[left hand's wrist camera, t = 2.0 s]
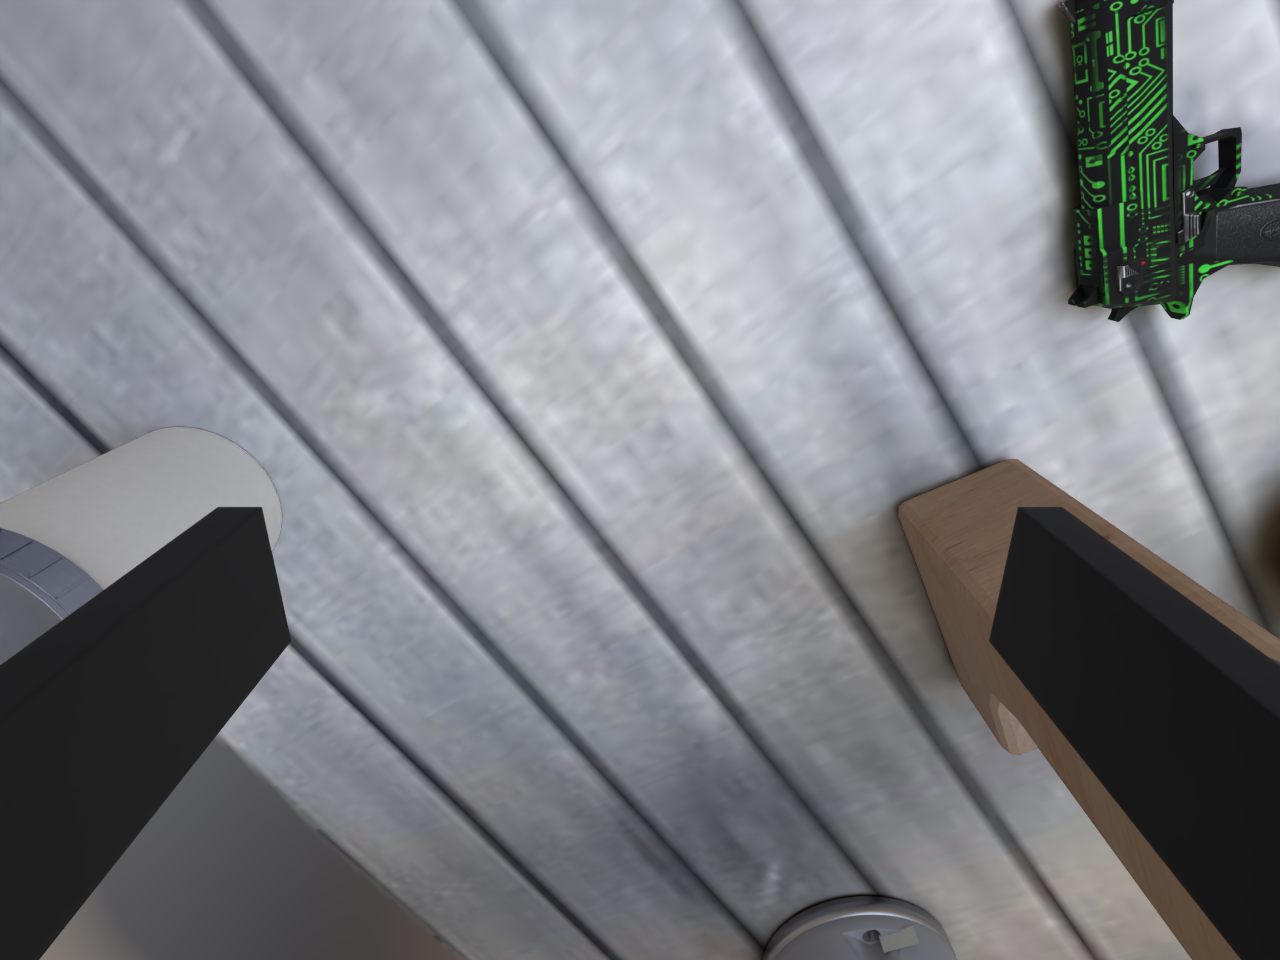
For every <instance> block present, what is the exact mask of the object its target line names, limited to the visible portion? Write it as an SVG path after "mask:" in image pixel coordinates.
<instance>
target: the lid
mask: <svg viewBox="0 0 1280 960" xmlns="http://www.w3.org/2000/svg"><path fill="white" fill-rule="evenodd" d="M102 591H103V589H102V587H101V586H100V585H99V584H98V583H97V582H96V581H95V580H94V579H92V578H91V577H90V576H89V575H88V574H87V573H86V572H85V571H84V570H82V569H81V568H80V567H78V566H77V565H76V564H75V563H73V562H72V561H71V560H69V559H68V558H66V557H65V556H63V555H61V554H60V553H58V552H57V551H55V550H54V549H52V548H50V547H48V546H46V545H44V544H42V543H40V542H38V541H36V540H34V539H31V538H29V537H26V536H24V535H21V534H19V533H16V532H13V531H9V530H6V529H3V528H0V665H1V664H3V663H4V662H5V661H7V660H8V659H9V658H11V657H12V656H14V655H15V654H16V653H18V652H19V651H20V650H22V649H23V648H25V647H26V646H27V645H29V644H30V643H31V642H33V641H34V640H36V639H37V638H38V637H40V636H41V635H42V634H44V633H45V632H47V631H48V630H49V629H51V628H52V627H53V626H55V625H56V624H58V623H59V622H60V621H62V620H63V619H64V618H66V617H67V616H69V615H70V614H71V613H73V612H74V611H75V610H77V609H78V608H80V607H81V606H82V605H84V604H85V603H86V602H88V601H89V600H91V599H92V598H93V597H95V596H96V595H97V594H99V593H100V592H102Z"/></svg>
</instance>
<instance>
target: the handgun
mask: <svg viewBox="0 0 1280 960" xmlns="http://www.w3.org/2000/svg"><path fill="white" fill-rule="evenodd" d="M1173 3H1174V0H1068V1H1066V2H1064V3H1062V4H1060V5H1059V7H1060V8H1061V9H1062V11H1063V12H1064V13H1065V15H1066V16H1067V18H1068V19H1069V20H1070V30H1071V43H1072V54H1073V73H1074V92H1075V112H1076V131H1077V149H1078V164H1079V179H1080V194H1081V207H1078V208H1075V209H1073V211H1074V224H1075V237H1076V248H1075V250H1074V259H1075V273H1076V288H1077V289H1076V290H1075V292H1074V293H1073V294H1072V296H1071V297H1070V298H1069V300H1068V304H1070V305H1075V306H1076V305H1077V306H1078V307H1083V308H1085V307H1089V306H1092V305H1095V306H1100V307H1104V308H1109V309H1111V308H1112V312H1111V314H1110V316H1109V318H1108V319H1109V320H1113V321H1117V322H1119V321H1120V320H1121V319H1122V318H1123V317H1124V316H1125V315H1126V314H1127V313H1128V312H1130V311H1131V310H1133V309H1135V308H1136V307H1138V306H1145V305H1155V304H1161V305H1162V307H1163V308H1164V310H1165V311H1166V312H1167V313H1168V315H1169V316H1170V317H1171V318H1175V319H1179V320H1180V319H1184V318H1185V317H1187V316H1188V315H1190V310H1191V306H1192V301H1193V297H1194V295H1195V293H1196V291H1197V290H1198V288H1199V286H1200V284H1201V282H1202V280H1203V279H1204V278H1206V277H1207V276H1209V275H1211V274H1213V273H1215V272H1216V271H1218V270H1220V269H1222V268H1224V267H1226V266H1227V265H1237V264H1262V265H1270V266H1278V267H1280V183H1279V184H1273V185H1268V186H1262V187H1257V188H1250V189H1247V187H1234V186H1235V184H1236V181H1237V179H1238V177H1239V174H1240V172H1241V144H1242V132H1241V128H1240V127H1238V128H1230V129H1223V130H1220V131H1219V132H1217V133H1215V134H1212V135H1209V136H1206V137H1202V138H1200V137H1197V136H1195V135H1192V134H1189V133H1188V132H1187V131H1186V130H1185V129H1184V128H1183V126H1182V125H1181V124H1180V123H1179V122H1178V120H1177V119H1176V118H1175V117H1174V116H1173ZM1217 140H1218V151H1219V170H1217V171H1216V172H1214V173H1213V174H1212V175H1210V176H1207V177H1204V178H1201V179H1199V180H1196V181H1193V161H1194V160H1195V159H1196V158H1197V157H1198V156H1199V155H1200V154H1201V153H1202V152H1203V151H1204V150H1205V144H1207V143H1210V142H1213V141H1217ZM1210 185H1211V186H1210ZM1208 186H1210V188H1206V187H1208ZM1204 188H1206V189H1204ZM1196 191H1197V192H1196ZM1195 192H1196V193H1195Z"/></svg>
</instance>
